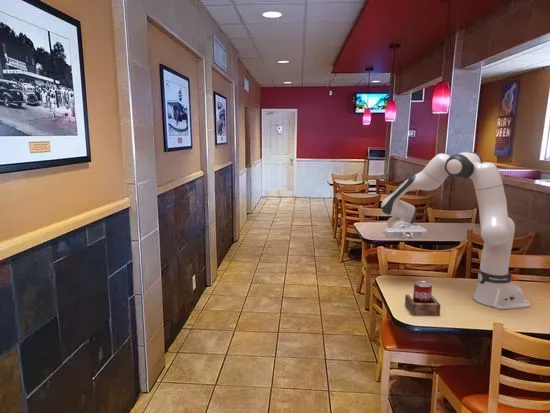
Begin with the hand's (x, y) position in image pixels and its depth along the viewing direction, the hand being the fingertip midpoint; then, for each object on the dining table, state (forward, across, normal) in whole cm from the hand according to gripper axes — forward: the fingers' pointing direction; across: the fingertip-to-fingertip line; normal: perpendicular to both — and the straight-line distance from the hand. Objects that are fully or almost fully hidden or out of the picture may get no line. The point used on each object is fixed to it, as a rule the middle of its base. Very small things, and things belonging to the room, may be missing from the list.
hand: (410, 237), depth 183 cm
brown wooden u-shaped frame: (+22, 0, +27) cm, 35 cm away
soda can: (+21, 0, +27) cm, 35 cm away
